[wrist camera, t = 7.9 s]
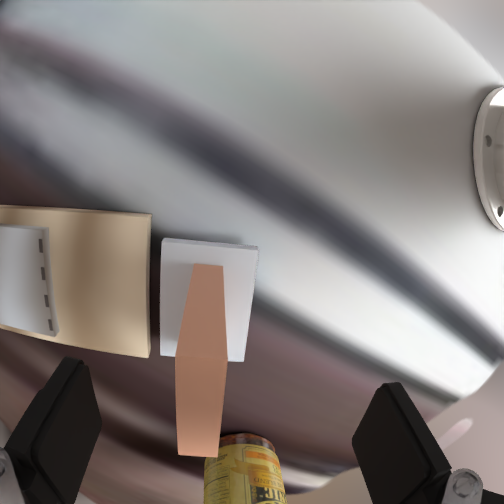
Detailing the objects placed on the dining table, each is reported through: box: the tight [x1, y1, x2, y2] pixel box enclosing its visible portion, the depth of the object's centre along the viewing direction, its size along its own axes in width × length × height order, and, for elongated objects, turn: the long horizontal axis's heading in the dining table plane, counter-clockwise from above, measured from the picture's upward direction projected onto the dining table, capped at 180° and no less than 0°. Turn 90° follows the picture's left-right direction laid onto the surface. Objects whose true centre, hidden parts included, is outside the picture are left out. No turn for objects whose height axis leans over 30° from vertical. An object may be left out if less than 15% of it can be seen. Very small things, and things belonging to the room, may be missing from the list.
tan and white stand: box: [160, 238, 259, 457], centre depth 13 cm, size 5×7×9 cm
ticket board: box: [0, 205, 152, 358], centre depth 15 cm, size 20×9×4 cm, turn 83°
